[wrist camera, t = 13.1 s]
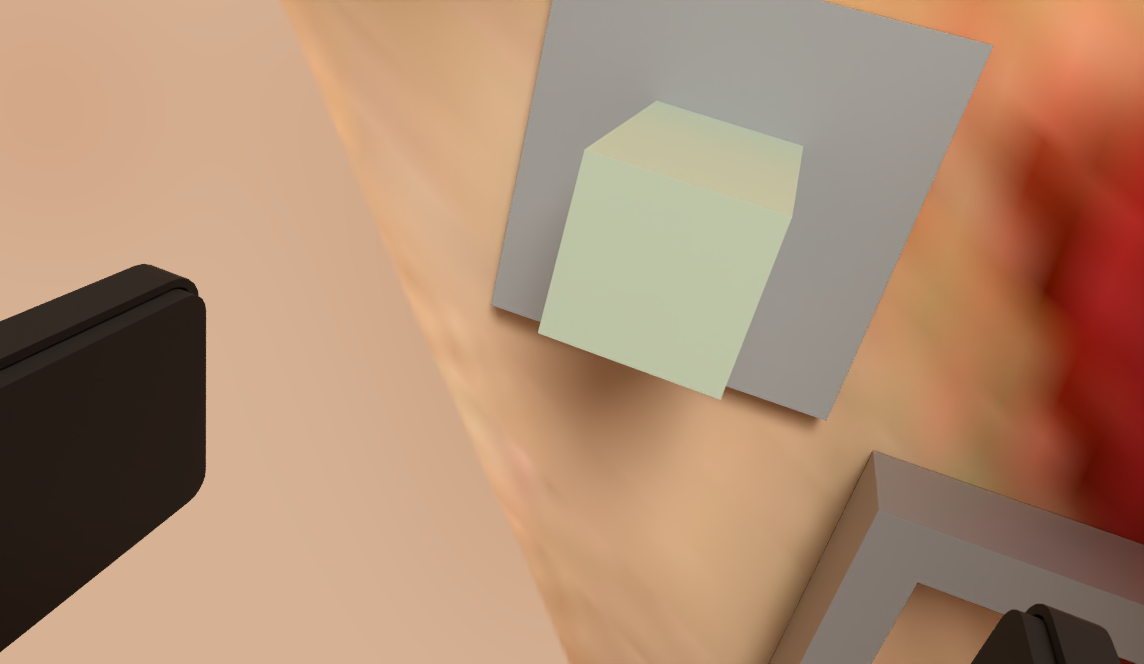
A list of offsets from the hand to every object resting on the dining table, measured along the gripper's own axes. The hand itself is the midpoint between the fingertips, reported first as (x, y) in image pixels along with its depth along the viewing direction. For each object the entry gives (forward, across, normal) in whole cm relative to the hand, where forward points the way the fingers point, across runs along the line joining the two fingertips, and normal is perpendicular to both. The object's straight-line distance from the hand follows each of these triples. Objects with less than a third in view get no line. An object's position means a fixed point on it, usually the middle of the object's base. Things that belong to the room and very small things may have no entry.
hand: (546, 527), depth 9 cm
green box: (+17, +1, +1) cm, 17 cm away
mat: (+18, +1, +1) cm, 18 cm away
